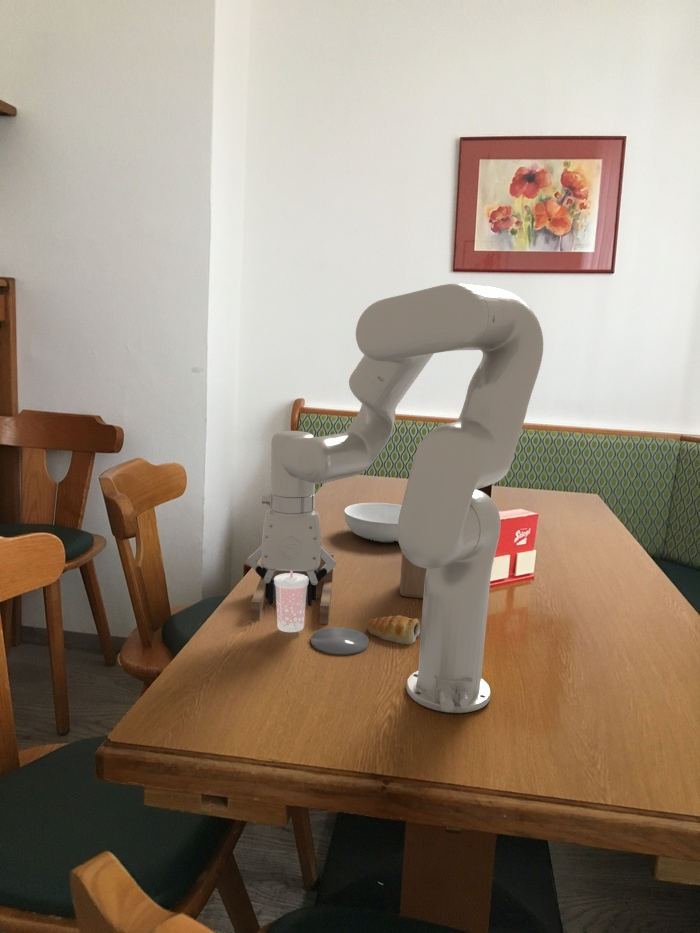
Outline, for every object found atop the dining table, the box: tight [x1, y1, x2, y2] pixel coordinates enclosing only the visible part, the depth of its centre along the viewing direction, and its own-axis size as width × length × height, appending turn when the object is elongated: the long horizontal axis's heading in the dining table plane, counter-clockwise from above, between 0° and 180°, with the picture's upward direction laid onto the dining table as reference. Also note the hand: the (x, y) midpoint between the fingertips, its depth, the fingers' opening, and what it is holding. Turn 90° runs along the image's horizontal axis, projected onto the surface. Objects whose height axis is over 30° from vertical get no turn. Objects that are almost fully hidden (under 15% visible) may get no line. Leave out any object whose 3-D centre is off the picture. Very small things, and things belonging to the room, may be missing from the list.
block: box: [399, 551, 427, 599], centre depth 154 cm, size 10×10×20 cm
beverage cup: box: [274, 571, 309, 633], centre depth 131 cm, size 6×6×14 cm
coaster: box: [310, 626, 370, 656], centre depth 130 cm, size 10×10×1 cm
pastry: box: [366, 614, 421, 645], centre depth 134 cm, size 9×7×4 cm
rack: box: [250, 551, 334, 625], centre depth 144 cm, size 15×14×9 cm
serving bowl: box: [343, 502, 402, 543], centre depth 193 cm, size 21×21×7 cm
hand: (291, 602), depth 132 cm, fingers closed on beverage cup, 6 cm apart
